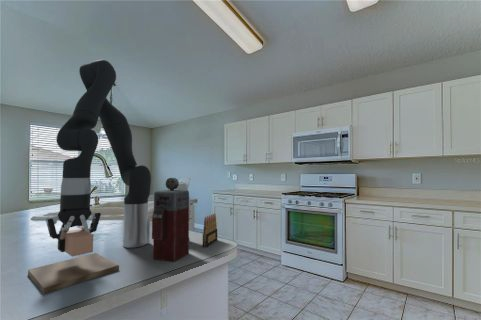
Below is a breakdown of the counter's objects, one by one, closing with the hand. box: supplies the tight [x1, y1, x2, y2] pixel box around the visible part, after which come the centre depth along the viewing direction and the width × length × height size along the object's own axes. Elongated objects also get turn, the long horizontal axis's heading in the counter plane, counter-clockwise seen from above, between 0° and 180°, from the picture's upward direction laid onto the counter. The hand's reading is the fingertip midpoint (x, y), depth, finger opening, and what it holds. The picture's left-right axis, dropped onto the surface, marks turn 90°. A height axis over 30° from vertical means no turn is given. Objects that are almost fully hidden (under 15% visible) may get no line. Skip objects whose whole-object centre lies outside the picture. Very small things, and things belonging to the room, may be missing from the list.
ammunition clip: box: [202, 212, 218, 249], centre depth 98 cm, size 11×2×12 cm, turn 161°
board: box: [27, 252, 120, 295], centre depth 70 cm, size 18×18×2 cm
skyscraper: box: [174, 177, 191, 243], centre depth 101 cm, size 8×8×28 cm
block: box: [58, 227, 95, 258], centre depth 69 cm, size 5×5×14 cm
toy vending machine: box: [151, 177, 190, 263], centre depth 82 cm, size 9×11×28 cm
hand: (73, 249), depth 70 cm, fingers closed on block, 5 cm apart
